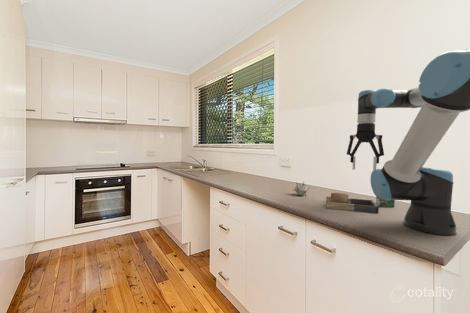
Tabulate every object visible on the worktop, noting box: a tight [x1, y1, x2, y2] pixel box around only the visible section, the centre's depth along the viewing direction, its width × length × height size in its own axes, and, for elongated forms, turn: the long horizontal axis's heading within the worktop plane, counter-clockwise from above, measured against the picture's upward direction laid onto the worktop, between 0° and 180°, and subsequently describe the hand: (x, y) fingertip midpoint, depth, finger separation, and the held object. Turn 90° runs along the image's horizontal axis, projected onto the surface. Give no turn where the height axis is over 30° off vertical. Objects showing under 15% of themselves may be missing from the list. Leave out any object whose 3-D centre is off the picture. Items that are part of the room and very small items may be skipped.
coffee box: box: [375, 195, 396, 208], centre depth 113 cm, size 8×3×13 cm, turn 90°
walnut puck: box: [330, 192, 349, 204], centre depth 114 cm, size 8×8×6 cm
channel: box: [325, 195, 380, 214], centre depth 112 cm, size 13×22×3 cm, turn 69°
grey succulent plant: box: [292, 182, 310, 197], centre depth 136 cm, size 9×8×10 cm
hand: (363, 169), depth 109 cm, fingers open, 8 cm apart
